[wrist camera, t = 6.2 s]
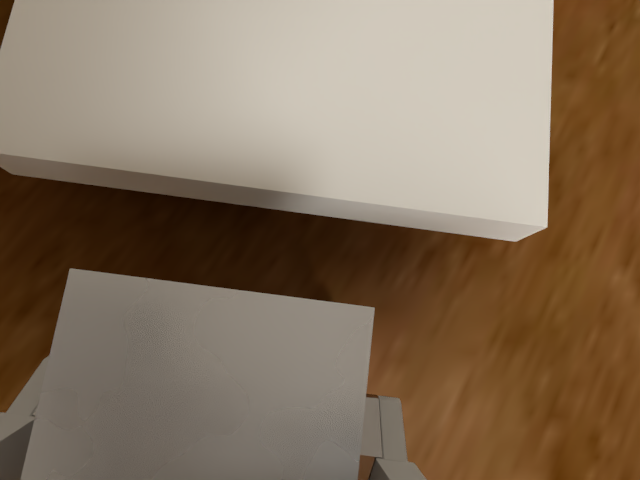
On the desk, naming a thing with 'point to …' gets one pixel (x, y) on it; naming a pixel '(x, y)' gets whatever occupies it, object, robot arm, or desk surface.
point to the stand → (291, 105)
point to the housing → (199, 384)
